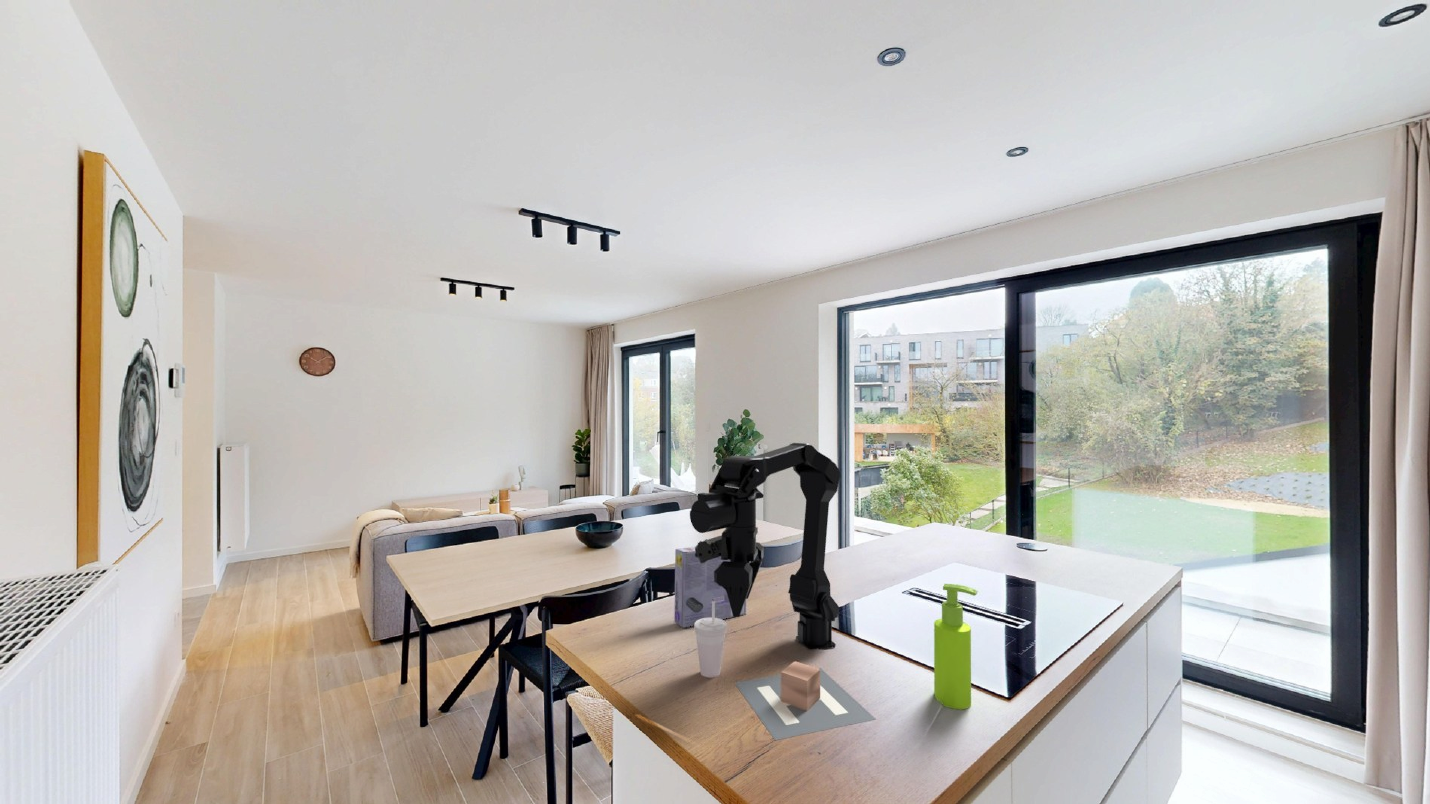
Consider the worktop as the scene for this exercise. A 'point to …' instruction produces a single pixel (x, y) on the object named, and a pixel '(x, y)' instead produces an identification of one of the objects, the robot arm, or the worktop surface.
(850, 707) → the board
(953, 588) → the soap dispenser
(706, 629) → the smoothie
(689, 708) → the worktop surface
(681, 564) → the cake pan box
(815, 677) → the terracotta block
